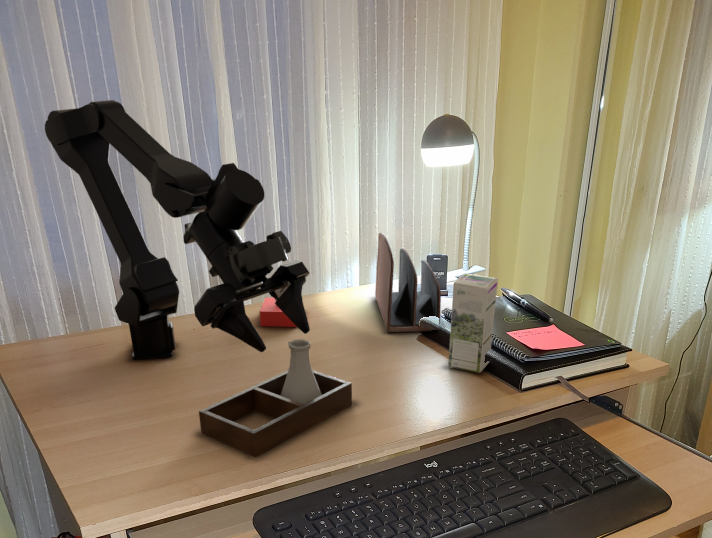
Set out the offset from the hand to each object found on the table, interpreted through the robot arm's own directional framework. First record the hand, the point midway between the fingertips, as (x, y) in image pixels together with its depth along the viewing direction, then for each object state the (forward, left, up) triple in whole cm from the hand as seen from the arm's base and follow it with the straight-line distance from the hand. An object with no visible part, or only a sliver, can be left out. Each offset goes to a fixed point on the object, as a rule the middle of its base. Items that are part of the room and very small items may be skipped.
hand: (286, 341), depth 110 cm
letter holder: (+26, +35, -10) cm, 45 cm away
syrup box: (+31, +9, -10) cm, 34 cm away
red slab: (+2, +36, -10) cm, 38 cm away
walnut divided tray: (-2, -5, -10) cm, 11 cm away
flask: (+2, -2, -10) cm, 10 cm away
